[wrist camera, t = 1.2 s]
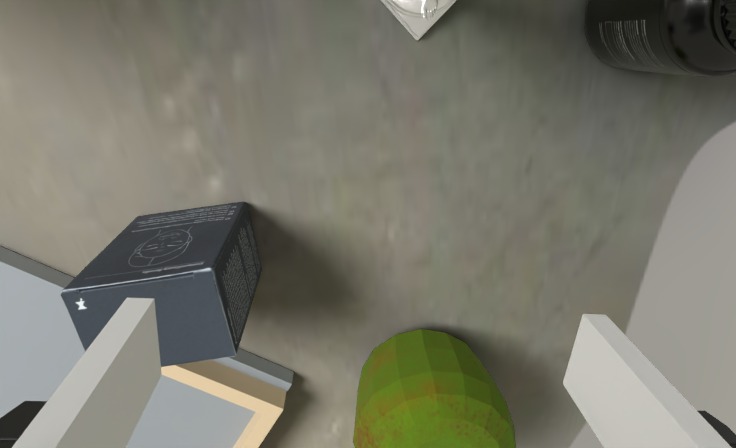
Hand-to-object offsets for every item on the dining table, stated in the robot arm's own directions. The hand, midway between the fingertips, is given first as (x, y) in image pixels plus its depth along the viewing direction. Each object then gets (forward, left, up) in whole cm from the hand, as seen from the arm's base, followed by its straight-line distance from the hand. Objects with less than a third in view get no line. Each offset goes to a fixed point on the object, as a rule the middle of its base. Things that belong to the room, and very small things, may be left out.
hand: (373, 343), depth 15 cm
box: (-7, -10, -20) cm, 24 cm away
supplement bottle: (+10, +18, -20) cm, 29 cm away
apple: (+13, -12, -20) cm, 27 cm away
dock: (-8, -25, -20) cm, 33 cm away
